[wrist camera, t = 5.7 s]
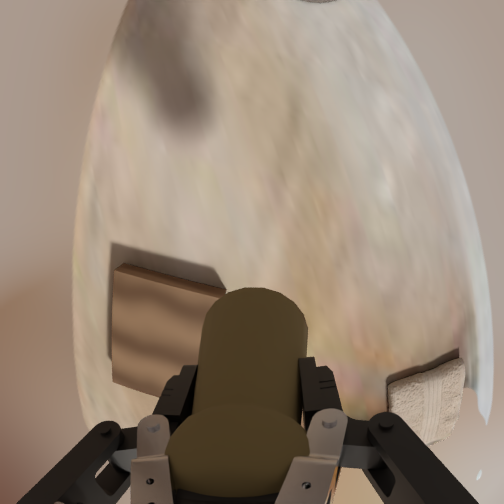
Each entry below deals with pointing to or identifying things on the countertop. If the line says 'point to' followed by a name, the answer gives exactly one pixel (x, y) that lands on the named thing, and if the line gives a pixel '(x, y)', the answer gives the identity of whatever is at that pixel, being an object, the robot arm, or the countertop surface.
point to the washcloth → (430, 400)
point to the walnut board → (156, 326)
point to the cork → (244, 398)
